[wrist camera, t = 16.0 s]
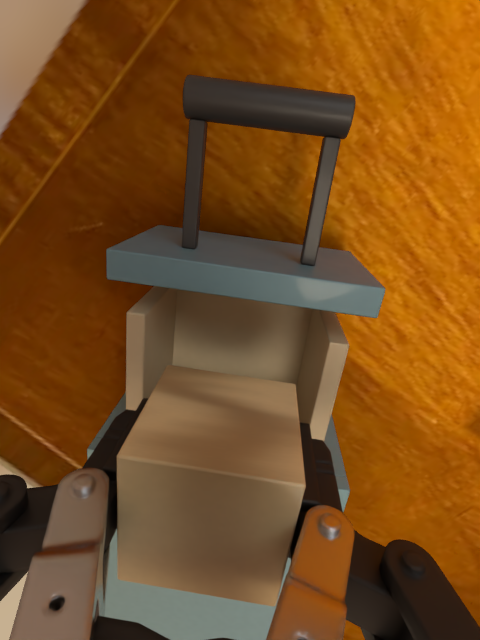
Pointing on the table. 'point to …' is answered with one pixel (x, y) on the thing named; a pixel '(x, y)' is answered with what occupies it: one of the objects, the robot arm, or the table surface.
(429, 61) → the table surface
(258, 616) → the cabinet
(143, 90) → the table surface
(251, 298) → the drawer
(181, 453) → the block
